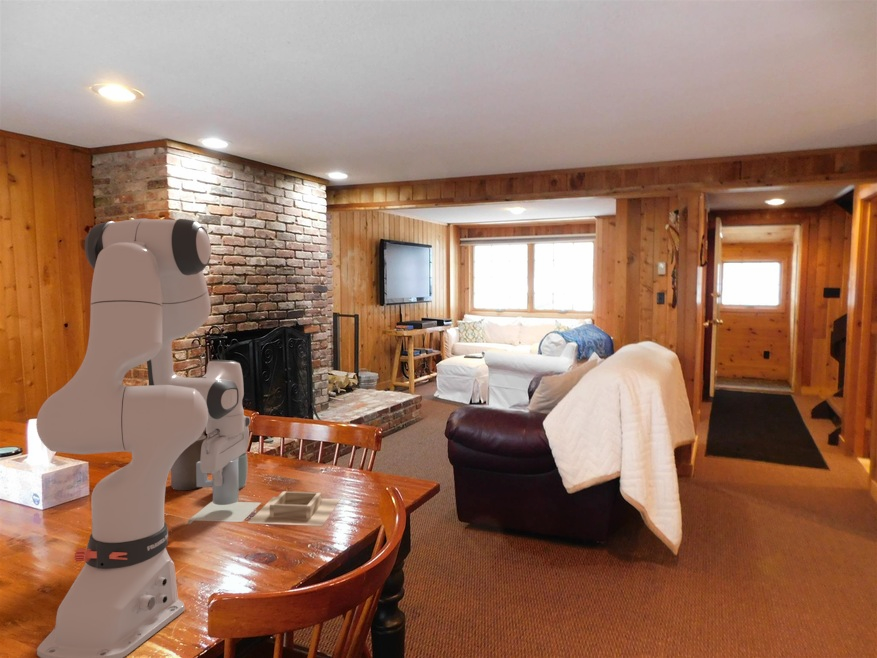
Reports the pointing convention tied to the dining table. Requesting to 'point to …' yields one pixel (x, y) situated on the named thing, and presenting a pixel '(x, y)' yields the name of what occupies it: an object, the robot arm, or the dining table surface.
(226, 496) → the light blue mug
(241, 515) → the mat
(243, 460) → the cup
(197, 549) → the dining table surface
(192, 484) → the pillar candle
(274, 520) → the holder
